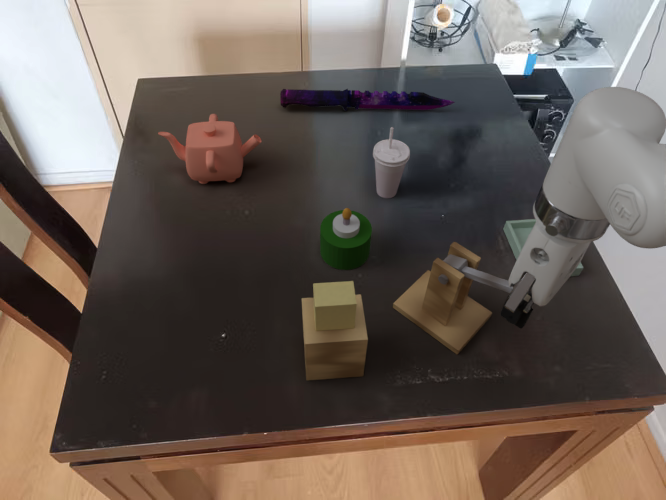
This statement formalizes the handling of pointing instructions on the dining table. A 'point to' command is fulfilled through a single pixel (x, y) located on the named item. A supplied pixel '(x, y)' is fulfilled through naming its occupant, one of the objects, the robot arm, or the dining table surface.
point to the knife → (362, 99)
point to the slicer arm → (479, 274)
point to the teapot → (213, 150)
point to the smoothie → (389, 165)
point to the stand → (334, 346)
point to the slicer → (445, 302)
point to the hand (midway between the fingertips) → (523, 305)
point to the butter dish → (524, 237)
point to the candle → (345, 239)
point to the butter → (334, 305)
